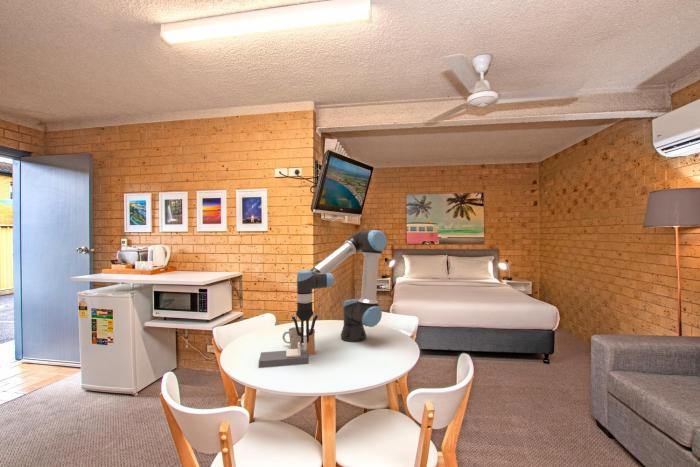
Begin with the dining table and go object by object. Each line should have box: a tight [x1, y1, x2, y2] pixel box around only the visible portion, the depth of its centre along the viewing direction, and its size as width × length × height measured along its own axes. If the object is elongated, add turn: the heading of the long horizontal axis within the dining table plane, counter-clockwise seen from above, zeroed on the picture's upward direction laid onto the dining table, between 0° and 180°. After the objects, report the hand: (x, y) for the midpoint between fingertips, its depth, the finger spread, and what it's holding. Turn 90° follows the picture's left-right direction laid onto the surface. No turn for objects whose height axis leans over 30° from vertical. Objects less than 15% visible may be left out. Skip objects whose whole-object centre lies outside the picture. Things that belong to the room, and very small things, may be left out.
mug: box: [282, 326, 303, 349], centre depth 180 cm, size 8×13×10 cm, turn 78°
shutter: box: [285, 342, 301, 358], centre depth 161 cm, size 7×9×4 cm
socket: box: [258, 348, 309, 369], centre depth 160 cm, size 23×12×3 cm, turn 101°
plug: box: [307, 328, 316, 356], centre depth 170 cm, size 4×4×12 cm
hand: (305, 349), depth 162 cm, fingers closed
